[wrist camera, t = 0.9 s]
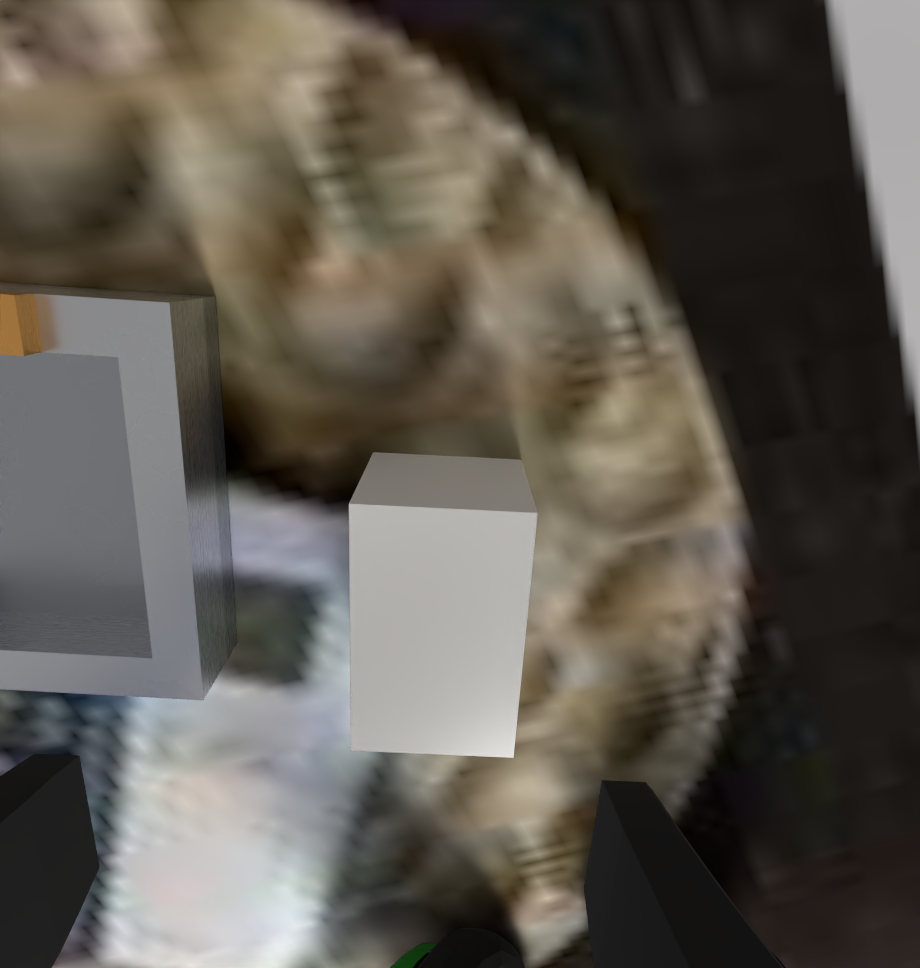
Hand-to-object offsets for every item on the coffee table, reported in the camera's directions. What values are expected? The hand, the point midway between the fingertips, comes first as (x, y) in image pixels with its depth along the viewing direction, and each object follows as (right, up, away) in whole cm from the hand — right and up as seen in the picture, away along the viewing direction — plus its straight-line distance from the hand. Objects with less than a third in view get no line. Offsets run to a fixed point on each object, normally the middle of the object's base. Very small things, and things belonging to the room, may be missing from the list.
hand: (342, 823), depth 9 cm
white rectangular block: (+1, +2, +9) cm, 10 cm away
